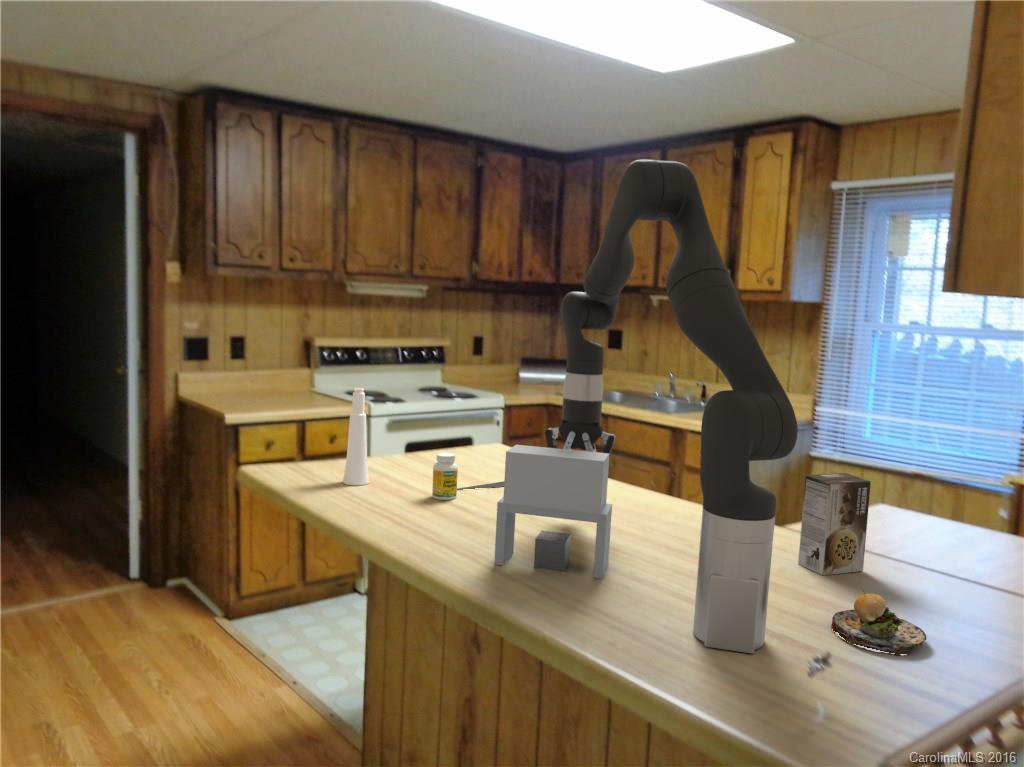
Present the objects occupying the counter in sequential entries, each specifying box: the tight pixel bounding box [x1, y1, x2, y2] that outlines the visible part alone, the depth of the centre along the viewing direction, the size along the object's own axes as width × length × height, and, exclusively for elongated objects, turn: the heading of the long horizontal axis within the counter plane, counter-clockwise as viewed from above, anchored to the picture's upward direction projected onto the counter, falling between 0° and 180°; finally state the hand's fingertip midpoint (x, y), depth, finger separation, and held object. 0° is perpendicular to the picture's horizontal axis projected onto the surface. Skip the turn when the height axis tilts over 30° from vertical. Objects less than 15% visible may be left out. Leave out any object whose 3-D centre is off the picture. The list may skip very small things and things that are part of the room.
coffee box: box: [797, 472, 872, 576], centre depth 134 cm, size 9×6×16 cm
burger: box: [830, 584, 927, 655], centre depth 106 cm, size 12×12×8 cm
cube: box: [533, 530, 572, 572], centre depth 129 cm, size 5×5×5 cm
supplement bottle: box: [432, 452, 458, 501], centre depth 169 cm, size 5×5×10 cm
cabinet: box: [494, 444, 613, 580], centre depth 128 cm, size 7×18×19 cm, turn 76°
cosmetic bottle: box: [342, 387, 370, 486], centre depth 178 cm, size 6×6×22 cm
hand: (577, 482), depth 151 cm, fingers closed on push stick, 4 cm apart
